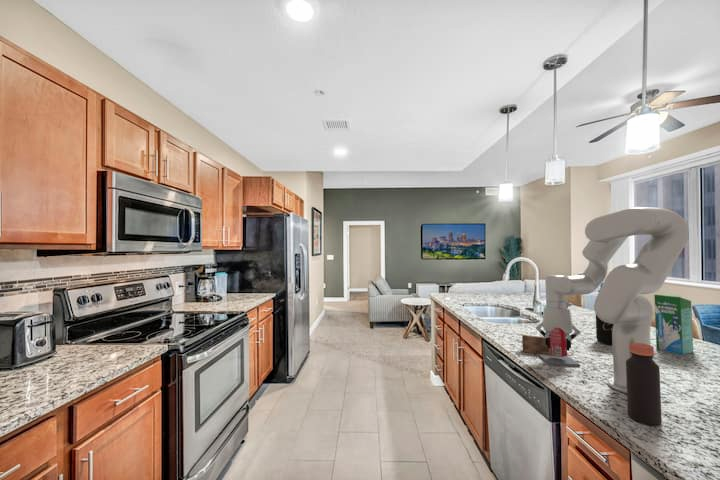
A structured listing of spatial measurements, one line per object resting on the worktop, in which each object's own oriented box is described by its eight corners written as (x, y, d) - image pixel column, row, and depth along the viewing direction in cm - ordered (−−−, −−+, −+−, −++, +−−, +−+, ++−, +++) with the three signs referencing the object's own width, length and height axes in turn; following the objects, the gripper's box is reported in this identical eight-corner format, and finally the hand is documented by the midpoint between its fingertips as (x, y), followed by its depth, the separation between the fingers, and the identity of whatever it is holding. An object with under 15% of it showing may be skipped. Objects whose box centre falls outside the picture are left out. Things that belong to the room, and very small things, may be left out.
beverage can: (562, 353, 131) (561, 324, 131) (570, 358, 125) (569, 328, 125) (546, 352, 131) (545, 324, 132) (554, 357, 125) (553, 327, 126)
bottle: (639, 425, 81) (636, 348, 82) (621, 412, 88) (619, 341, 89) (668, 427, 80) (665, 349, 81) (648, 413, 87) (646, 342, 88)
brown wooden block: (558, 353, 138) (557, 337, 138) (559, 356, 133) (558, 340, 133) (522, 348, 144) (522, 333, 145) (522, 352, 140) (522, 336, 140)
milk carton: (693, 352, 138) (691, 295, 138) (682, 354, 134) (680, 296, 135) (667, 346, 146) (665, 293, 147) (656, 348, 143) (654, 294, 143)
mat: (580, 367, 122) (579, 364, 122) (549, 365, 123) (549, 363, 123) (565, 357, 133) (565, 355, 133) (538, 356, 134) (538, 353, 134)
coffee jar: (602, 345, 149) (601, 307, 149) (592, 339, 159) (591, 303, 159) (629, 347, 145) (627, 308, 146) (617, 340, 156) (616, 304, 156)
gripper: (580, 304, 128) (582, 348, 127) (532, 302, 136) (533, 343, 135) (583, 307, 121) (585, 354, 121) (532, 304, 129) (534, 348, 129)
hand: (558, 348), depth 128 cm, fingers closed on beverage can, 6 cm apart
